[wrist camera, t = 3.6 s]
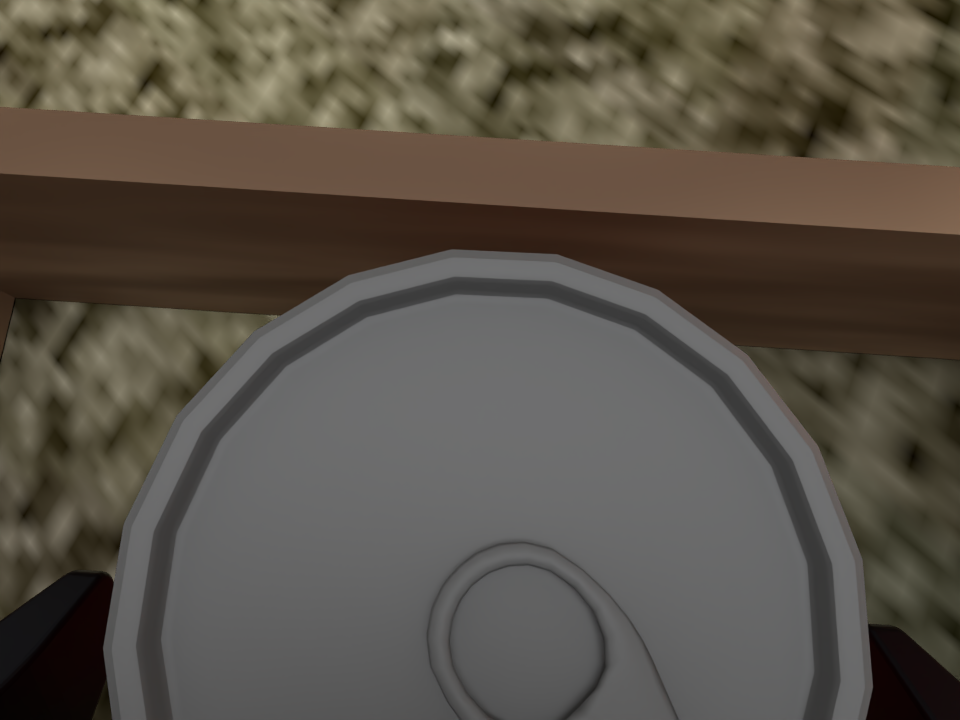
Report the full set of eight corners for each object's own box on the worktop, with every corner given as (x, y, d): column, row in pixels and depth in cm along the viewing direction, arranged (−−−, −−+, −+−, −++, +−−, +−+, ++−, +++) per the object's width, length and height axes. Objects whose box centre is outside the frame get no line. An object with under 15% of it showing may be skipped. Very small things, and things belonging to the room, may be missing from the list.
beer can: (470, 769, 15) (452, 1499, 4) (285, 543, 17) (-160, 573, 5) (674, 562, 17) (1144, 637, 5) (488, 364, 18) (513, 44, 6)
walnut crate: (1083, 882, 15) (1739, 1263, 7) (-150, 793, 15) (-799, 1065, 7) (1013, 318, 18) (1418, 159, 10) (-13, 252, 18) (-371, 47, 11)
